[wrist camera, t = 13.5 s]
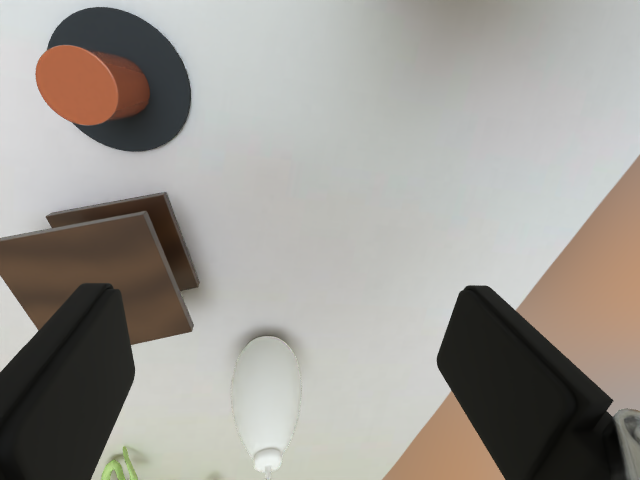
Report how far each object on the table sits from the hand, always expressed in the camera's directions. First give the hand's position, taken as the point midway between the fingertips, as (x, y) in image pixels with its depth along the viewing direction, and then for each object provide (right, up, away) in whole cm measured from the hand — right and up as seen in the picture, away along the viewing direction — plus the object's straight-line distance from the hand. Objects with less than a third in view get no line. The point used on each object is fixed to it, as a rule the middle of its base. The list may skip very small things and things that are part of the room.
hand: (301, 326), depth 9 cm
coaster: (-16, +16, +19) cm, 30 cm away
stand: (-19, +1, +25) cm, 32 cm away
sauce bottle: (-7, -11, +34) cm, 36 cm away
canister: (-17, +15, +18) cm, 29 cm away
